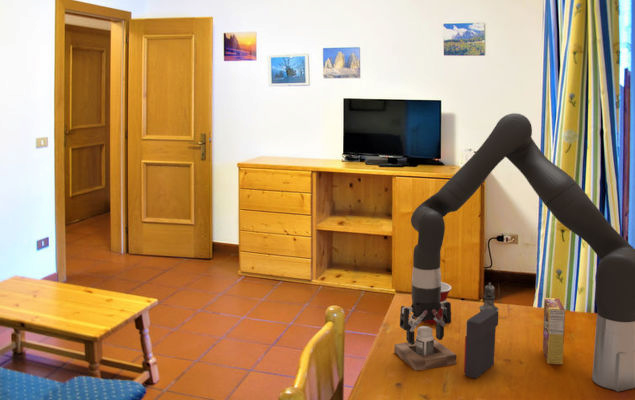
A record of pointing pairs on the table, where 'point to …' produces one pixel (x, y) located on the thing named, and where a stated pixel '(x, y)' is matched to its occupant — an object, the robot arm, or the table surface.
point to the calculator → (480, 342)
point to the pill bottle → (424, 341)
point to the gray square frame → (425, 356)
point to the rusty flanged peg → (489, 299)
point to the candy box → (553, 330)
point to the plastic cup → (444, 293)
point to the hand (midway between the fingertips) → (425, 341)
